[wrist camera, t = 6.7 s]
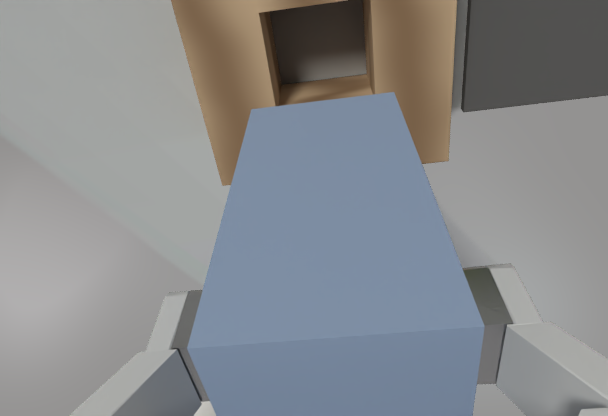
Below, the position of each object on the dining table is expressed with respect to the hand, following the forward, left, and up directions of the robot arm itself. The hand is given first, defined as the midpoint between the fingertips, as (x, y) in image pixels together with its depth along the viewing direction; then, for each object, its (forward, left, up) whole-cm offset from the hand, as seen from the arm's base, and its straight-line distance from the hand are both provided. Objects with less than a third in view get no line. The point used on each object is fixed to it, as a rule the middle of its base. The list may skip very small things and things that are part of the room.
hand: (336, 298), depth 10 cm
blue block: (0, 0, -6) cm, 6 cm away
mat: (-14, +1, -22) cm, 26 cm away
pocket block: (0, 0, -22) cm, 22 cm away
